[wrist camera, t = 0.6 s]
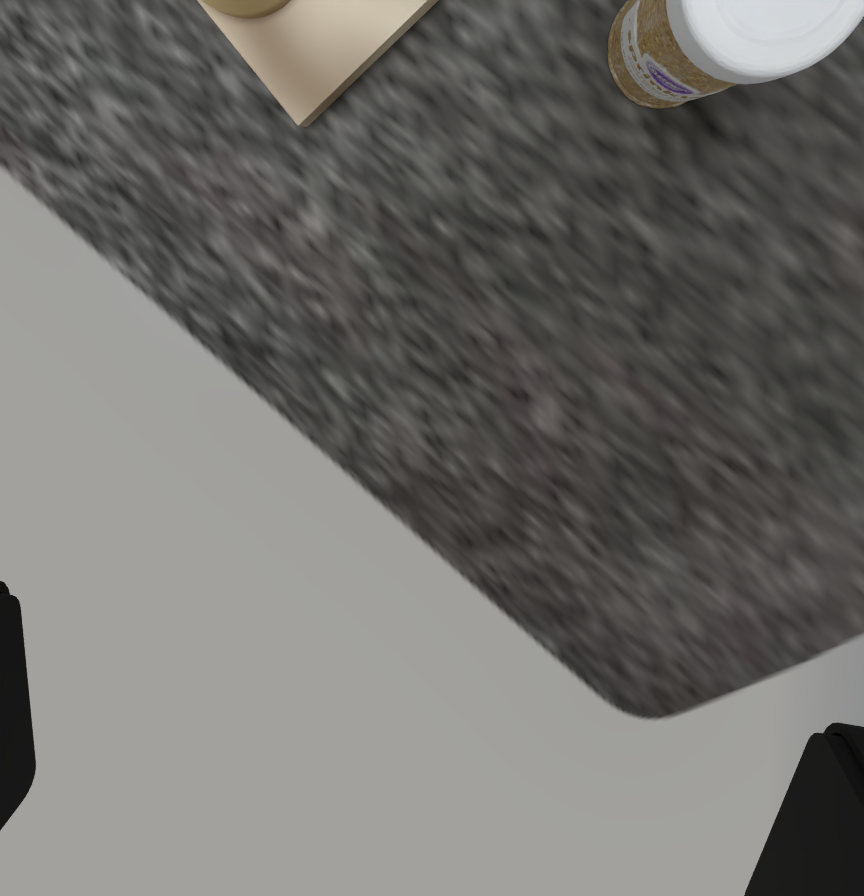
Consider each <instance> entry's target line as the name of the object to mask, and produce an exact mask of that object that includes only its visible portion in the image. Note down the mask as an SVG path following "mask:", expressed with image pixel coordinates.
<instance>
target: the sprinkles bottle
mask: <svg viewBox="0 0 864 896" xmlns="http://www.w3.org/2000/svg"><path fill="white" fill-rule="evenodd" d="M863 16H864V0H627V2H626V3H625V4H624V6H623V7H622V8H621V9H620V11H619V12H618V14H617V16H616V17H615V19H614V22H613V24H612V27H611V31H610V35H609V39H608V64H609V68H610V71H611V74H612V76H613V79H614V81H615V82H616V84H617V85H618V86H619V88H620V89H621V91H622V92H623V93H624V94H625V96H626V97H627V98H629V99H630V100H632V101H634V102H635V103H636V104H638V105H642V106H645V107H650V108H670V107H675V106H678V105H681V104H684V103H685V102H687V101H690V100H694V99H698V98H701V97H705V96H708V95H711V94H714V93H717V92H720V91H723V90H725V89H727V88H729V87H732V86H735V85H737V84H756V83H763V82H767V81H771V80H775V79H779V78H782V77H785V76H788V75H791V74H793V73H796V72H799V71H801V70H803V69H806V68H808V67H810V66H812V65H813V64H815V63H817V62H819V61H820V60H822V59H823V58H825V57H826V56H828V55H829V54H830V53H831V52H833V51H834V50H835V49H836V48H837V47H838V46H839V45H840V44H841V43H843V42H844V41H845V39H846V38H847V37H848V36H849V35H850V34H851V33H852V31H853V30H854V29H855V28H856V26H857V25H858V24H859V22H860V21H861V20H862V18H863Z"/></svg>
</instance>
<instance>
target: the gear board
mask: <svg viewBox="0 0 864 896" xmlns="http://www.w3.org/2000/svg"><path fill="white" fill-rule="evenodd" d="M197 1H198V2H199V3H200V5H201V6H202V7H203V8H204V10H205V11H206V12H207V13H208V14H209V16H210V17H211V18H212V19H213V21H214V22H215V23H216V24H217V26H218V27H219V28H220V29H221V31H222V32H223V33H224V34H225V36H226V37H227V38H228V39H229V41H230V42H231V43H232V44H233V46H234V47H235V48H236V49H237V51H238V52H239V53H240V54H241V55H242V57H243V58H244V59H245V60H246V62H247V63H248V64H249V65H250V67H251V68H252V69H253V70H254V72H255V73H256V74H257V75H258V77H259V78H260V79H261V80H262V82H263V83H264V84H265V85H266V87H267V88H268V89H269V90H270V92H271V93H272V94H273V95H274V96H275V98H276V99H277V100H278V101H279V103H280V104H281V105H282V106H283V108H284V109H285V110H286V111H287V113H288V114H289V115H290V116H291V118H292V119H293V120H294V121H295V123H296V124H297V125H298V126H302V127H308V126H309V125H310V124H311V123H312V122H313V121H314V120H315V119H316V118H317V117H318V116H319V115H320V114H321V113H322V112H323V111H325V110H326V109H327V108H328V107H329V106H330V105H331V104H332V103H333V102H334V101H335V100H336V99H337V98H338V97H339V96H340V95H341V94H342V93H343V92H344V91H345V90H346V89H347V88H348V87H349V86H350V85H351V84H353V83H354V82H355V81H356V80H357V79H358V78H359V77H360V76H361V75H362V74H363V73H364V72H365V71H366V70H367V69H368V68H369V67H370V66H371V65H372V64H373V63H374V62H375V61H376V60H377V59H378V58H379V57H381V56H382V55H383V54H384V53H385V52H386V51H387V50H388V49H389V48H390V47H391V46H392V45H393V44H394V43H395V42H396V41H397V40H398V39H399V38H400V37H401V36H402V35H403V34H404V33H405V32H406V31H407V30H408V29H410V28H411V27H412V26H413V25H414V24H415V23H416V22H417V21H418V20H419V19H420V18H421V17H422V16H423V15H424V14H425V13H426V12H427V11H428V10H429V9H430V8H431V7H432V6H433V5H434V4H435V3H436V2H438V1H439V0H197Z"/></svg>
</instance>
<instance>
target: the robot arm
mask: <svg viewBox="0 0 864 896" xmlns="http://www.w3.org/2000/svg"><path fill="white" fill-rule="evenodd" d="M35 770H36V760H35V751H34V740H33V730H32V719H31V709H30V699H29V688H28V678H27V668H26V658H25V648H24V638H23V628H22V616H21V607H20V603H19V600H18V599H17V597H15V596H13V595H10V593H9V589H8V587H7V586H6V584H5V583H4V582H2V581H0V830H1V829H2V827H3V826H4V825H5V823H6V822H7V821H8V820H9V818H10V817H11V816H12V814H13V813H14V811H15V810H16V809H17V808H18V806H19V805H20V804H21V802H22V801H23V799H24V798H25V796H26V795H27V793H28V791H29V789H30V787H31V785H32V782H33V779H34V775H35ZM744 896H864V727H861V726H855V725H849V724H843V723H832V724H831V725H830V726H828V727H827V728H826V730H825V731H824V733H814V734H813V735H812V736H811V737H810V738H809V740H808V742H807V744H806V747H805V749H804V752H803V754H802V757H801V759H800V761H799V764H798V766H797V769H796V771H795V773H794V776H793V778H792V781H791V783H790V786H789V788H788V790H787V793H786V795H785V798H784V800H783V802H782V805H781V807H780V810H779V812H778V815H777V817H776V819H775V822H774V824H773V827H772V829H771V831H770V834H769V836H768V839H767V841H766V843H765V846H764V848H763V851H762V853H761V856H760V858H759V860H758V863H757V865H756V868H755V870H754V872H753V875H752V877H751V880H750V882H749V885H748V887H747V889H746V892H745V895H744Z"/></svg>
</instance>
